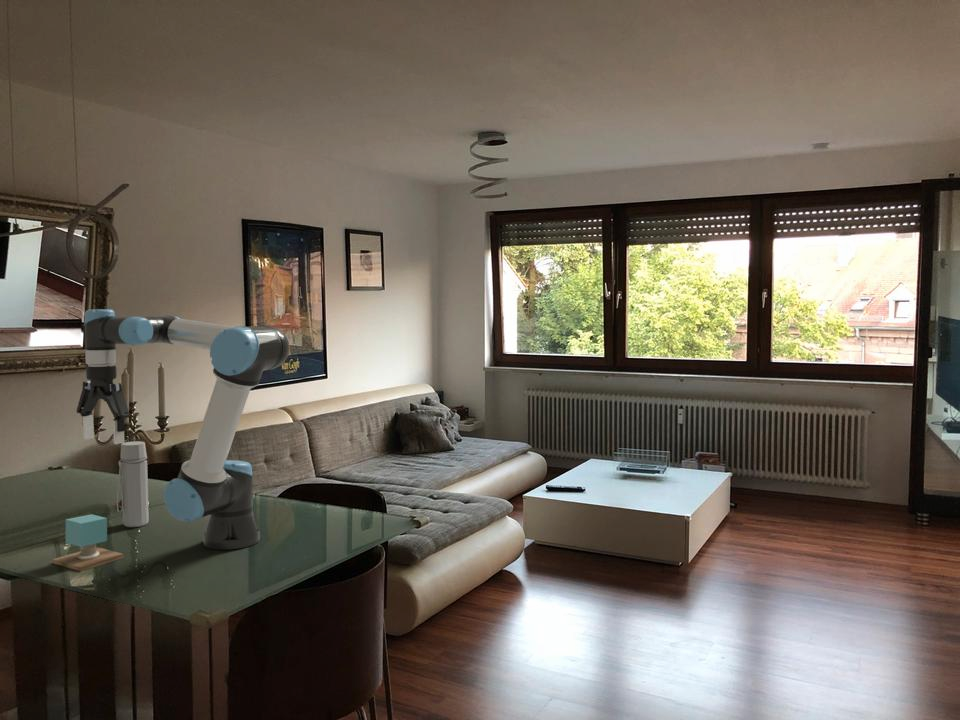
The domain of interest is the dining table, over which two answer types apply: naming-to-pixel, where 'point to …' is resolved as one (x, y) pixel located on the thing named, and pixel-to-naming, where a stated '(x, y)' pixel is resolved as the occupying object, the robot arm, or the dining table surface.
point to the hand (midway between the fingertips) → (103, 441)
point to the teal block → (86, 530)
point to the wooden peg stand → (87, 558)
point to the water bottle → (133, 484)
